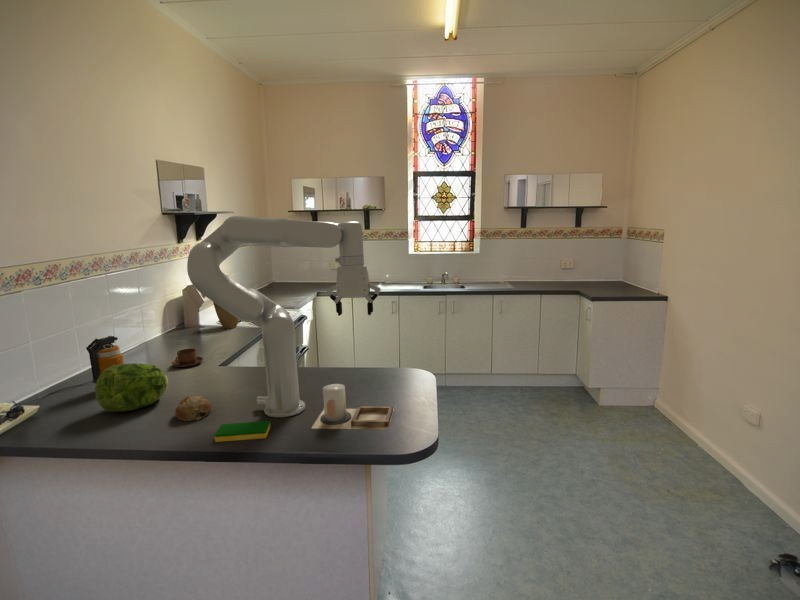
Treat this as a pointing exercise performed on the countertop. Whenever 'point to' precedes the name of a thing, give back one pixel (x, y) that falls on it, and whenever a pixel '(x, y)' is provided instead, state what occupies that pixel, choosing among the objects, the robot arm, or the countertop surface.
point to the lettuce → (130, 386)
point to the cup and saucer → (187, 358)
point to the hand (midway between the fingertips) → (354, 314)
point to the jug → (334, 402)
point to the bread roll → (192, 408)
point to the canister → (103, 355)
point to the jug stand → (359, 419)
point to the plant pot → (225, 317)
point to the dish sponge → (242, 431)
